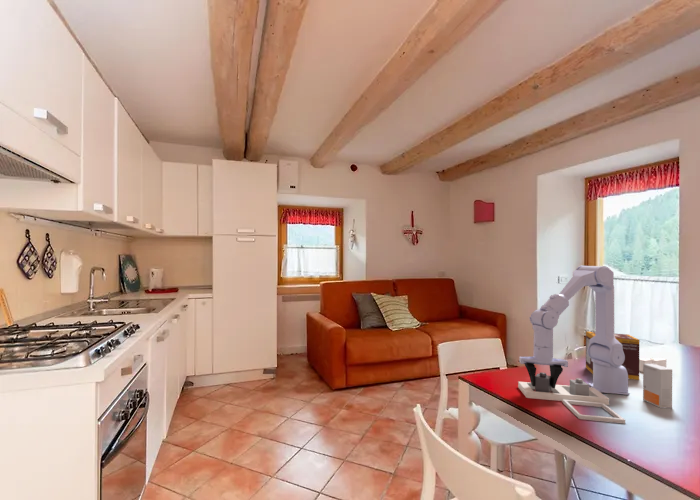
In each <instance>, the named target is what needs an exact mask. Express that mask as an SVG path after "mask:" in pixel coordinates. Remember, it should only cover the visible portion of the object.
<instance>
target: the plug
mask: <svg viewBox="0 0 700 500" xmlns="http://www.w3.org/2000/svg"><path fill="white" fill-rule="evenodd" d="M535 383H536V384H535V389H534V391H535V392H547V393H551V392H552V391H551V375H548V374H547V373H546V372H539V373H537V374H536V375H535Z"/></svg>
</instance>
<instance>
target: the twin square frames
mask: <svg viewBox="0 0 700 500" xmlns="http://www.w3.org/2000/svg"><path fill="white" fill-rule="evenodd" d="M517 383H518V385H517V387H518V389H519V390H520V391H521V393H522V394H523V395H524V396H525V398H527V399H536V400H547V401H559V402H563V399H564V400H575V401H586V402H597V403H604V404H605V405H607V406H610V398H609V397H608V396H606V395H604V393H602V392H599V391H598V390H596V389H595V388H592V387H591V386H589V396H582V395H571V394H570V385H565V384H563V385H562V384H556V386H555V388H552V387H551V391H550V393H547V392H535V387H534V386H532V385H531V381H530V382H527V381H517Z"/></svg>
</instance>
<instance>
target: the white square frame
mask: <svg viewBox="0 0 700 500" xmlns="http://www.w3.org/2000/svg"><path fill="white" fill-rule="evenodd" d="M562 403H563V405H564V406H565V407H566V408H567V409H569V411H570V412H571V413H572V414H573V415H574V416H575V417H577V419H579V420H585V421H586V420H588V421H594V422H596V421H598V422H607V423H616V424H617V423H618V424H626V419H625V418H624V417H623V416H622V415H620V414H619V413H617V412H616V411H614V410H613V409H612V408H610V407H609V405H605V404H604V403H597V402H586V401H575V400H564V399H563V401H562ZM574 405H575V406H583V407H584V406H585V407H586V406H587V407H595V408H596V407H597V408H602V409H603V410H605V411H606V412H607V413H608V414H610V415H611V416H612V417H611V416H603V415H602V416H601V415H600V416H599V415H589V414H581V413H580V412H579V411H578V410H577V409H576V408H575V407H574Z"/></svg>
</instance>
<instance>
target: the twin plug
mask: <svg viewBox="0 0 700 500" xmlns="http://www.w3.org/2000/svg"><path fill="white" fill-rule="evenodd" d="M569 386H570V392H569V393H570V394H571V395H582V396H589V387H590V386H589V385H588V383H587V382H585V381H584V380H583V379H582V378H577V377H576V378H575V379H569Z"/></svg>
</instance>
